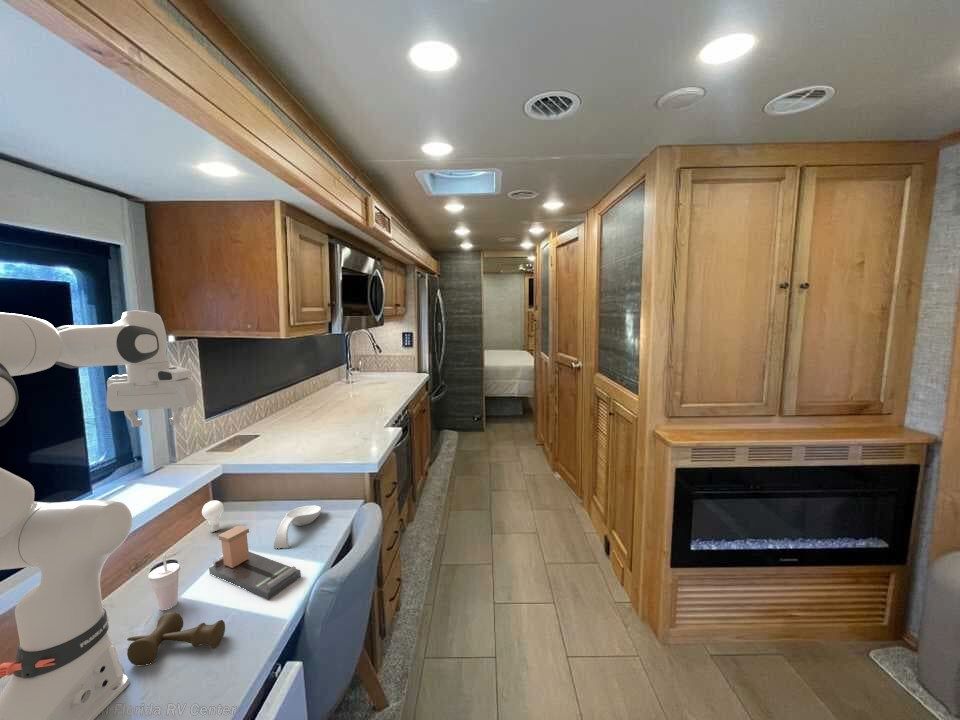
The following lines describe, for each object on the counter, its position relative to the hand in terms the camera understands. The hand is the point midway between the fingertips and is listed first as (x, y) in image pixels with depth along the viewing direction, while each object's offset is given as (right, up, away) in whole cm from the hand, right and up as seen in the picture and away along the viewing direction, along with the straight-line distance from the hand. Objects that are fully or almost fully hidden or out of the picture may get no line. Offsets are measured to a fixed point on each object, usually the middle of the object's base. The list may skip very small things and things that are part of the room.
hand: (156, 425), depth 104 cm
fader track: (+21, -45, +8) cm, 50 cm away
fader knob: (+14, -42, +12) cm, 46 cm away
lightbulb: (-7, -43, +34) cm, 55 cm away
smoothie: (+5, -47, -2) cm, 47 cm away
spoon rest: (+22, -42, +33) cm, 58 cm away
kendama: (+17, -48, -16) cm, 53 cm away
